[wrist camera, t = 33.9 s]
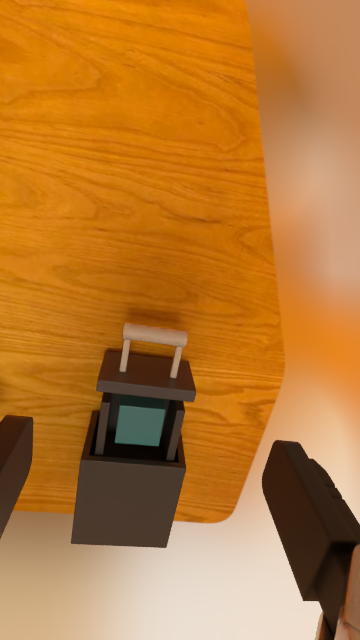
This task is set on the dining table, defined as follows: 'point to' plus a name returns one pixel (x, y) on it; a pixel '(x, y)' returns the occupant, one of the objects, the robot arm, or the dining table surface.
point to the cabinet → (125, 497)
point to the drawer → (144, 391)
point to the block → (140, 420)
